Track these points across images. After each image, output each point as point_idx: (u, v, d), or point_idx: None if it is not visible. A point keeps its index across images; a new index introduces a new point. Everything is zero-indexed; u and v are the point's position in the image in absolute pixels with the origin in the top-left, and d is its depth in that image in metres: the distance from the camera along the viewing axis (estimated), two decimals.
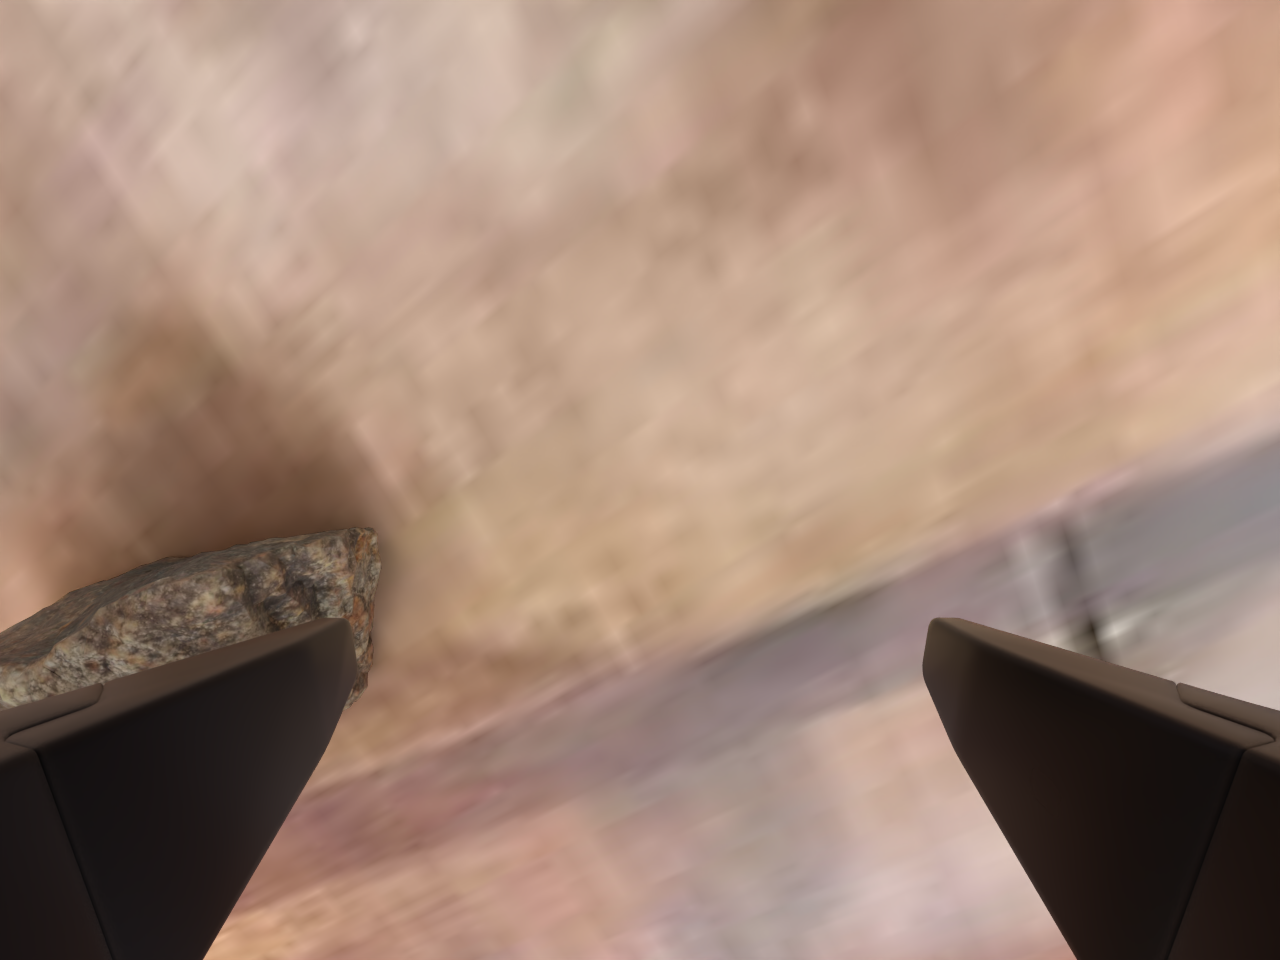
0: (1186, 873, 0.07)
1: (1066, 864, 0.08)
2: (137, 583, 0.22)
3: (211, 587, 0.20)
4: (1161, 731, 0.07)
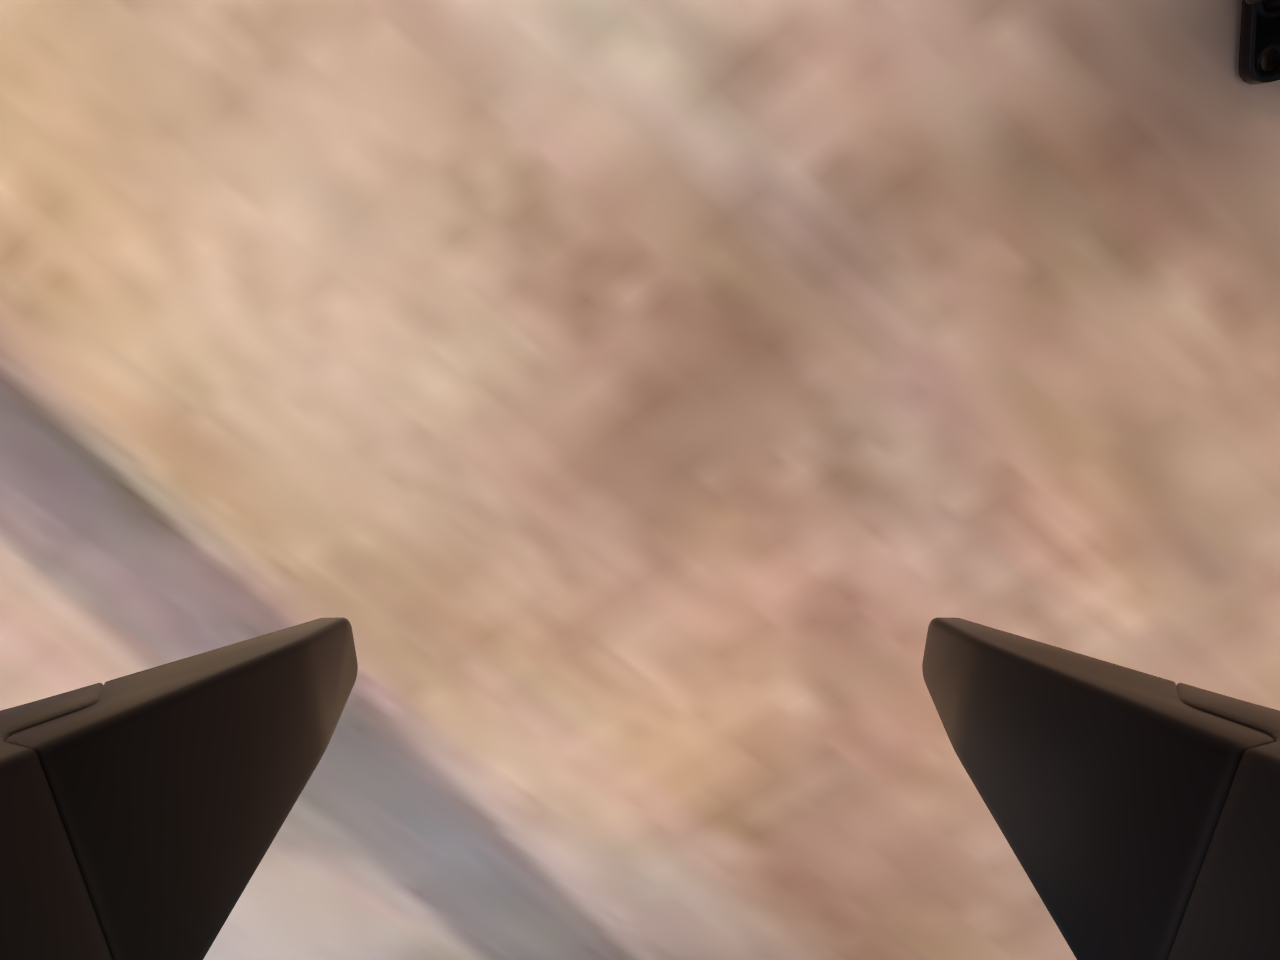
0: (1186, 873, 0.07)
1: (1066, 864, 0.08)
2: None
3: None
4: (1161, 731, 0.07)
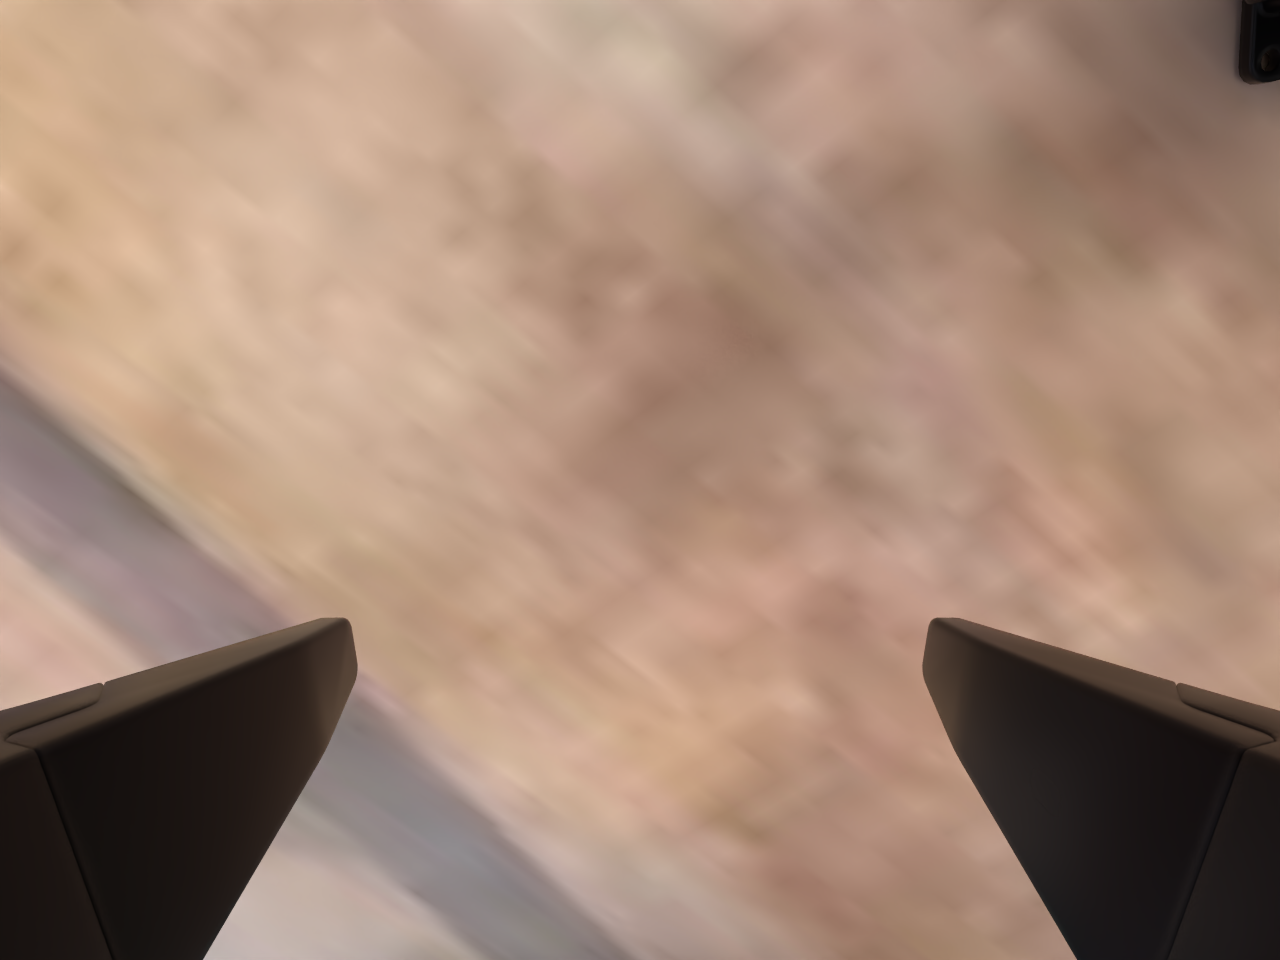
0: (1186, 873, 0.07)
1: (1066, 864, 0.08)
2: None
3: None
4: (1161, 731, 0.07)
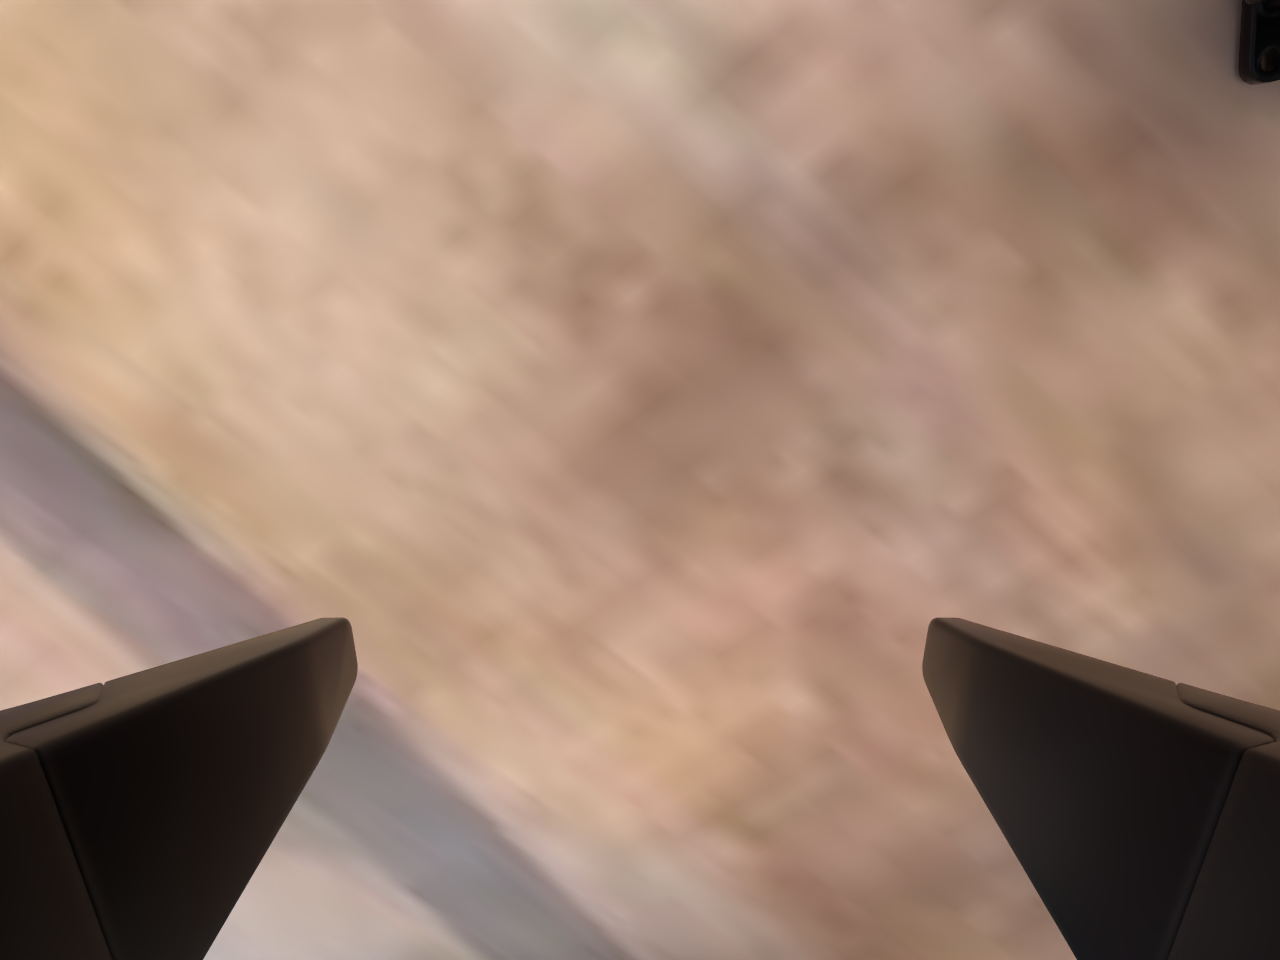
0: (1186, 873, 0.07)
1: (1066, 864, 0.08)
2: None
3: None
4: (1161, 731, 0.07)
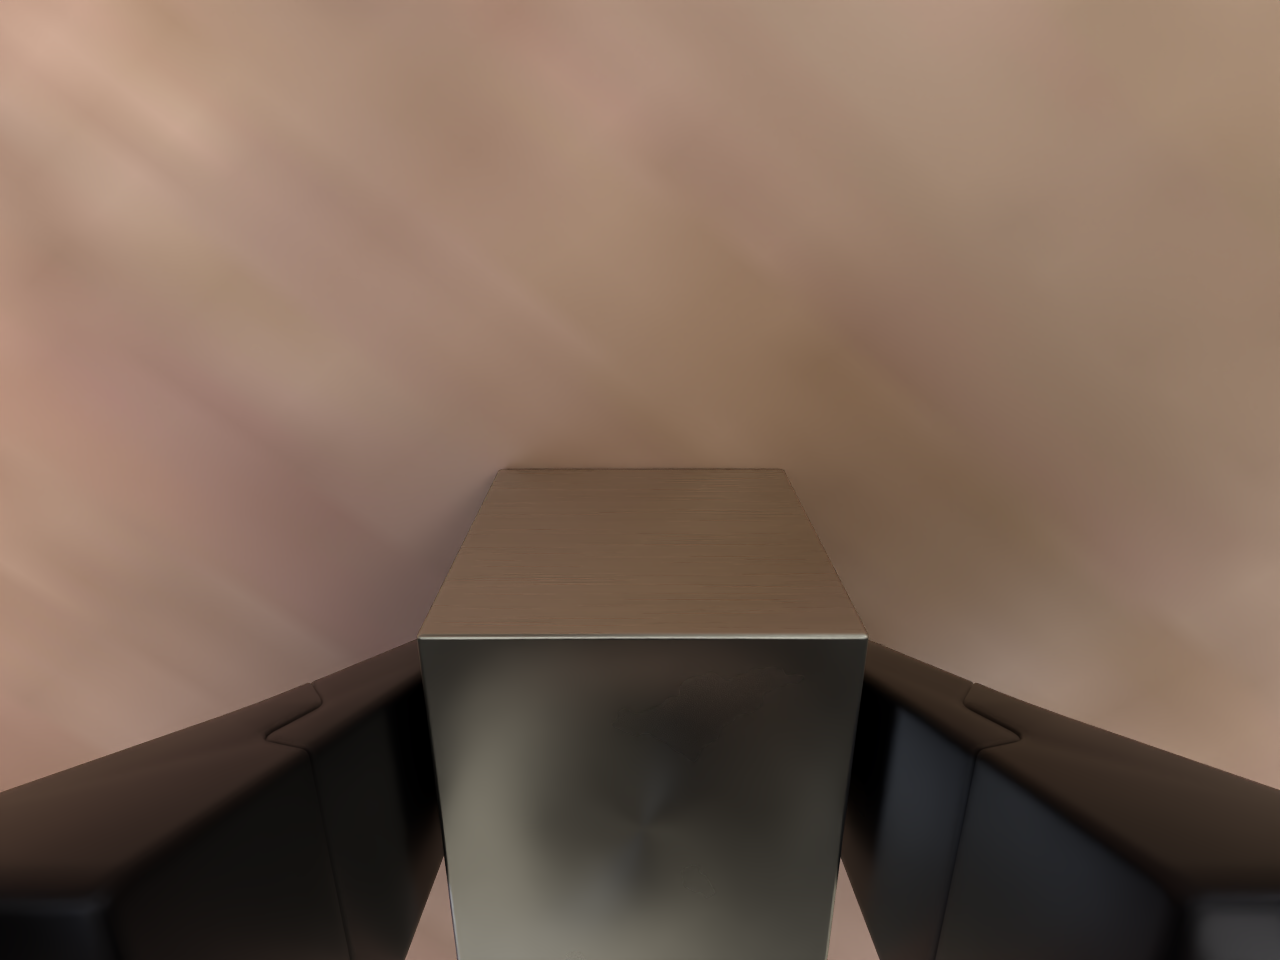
0: (944, 873, 0.07)
1: (871, 864, 0.08)
2: None
3: None
4: (927, 731, 0.07)
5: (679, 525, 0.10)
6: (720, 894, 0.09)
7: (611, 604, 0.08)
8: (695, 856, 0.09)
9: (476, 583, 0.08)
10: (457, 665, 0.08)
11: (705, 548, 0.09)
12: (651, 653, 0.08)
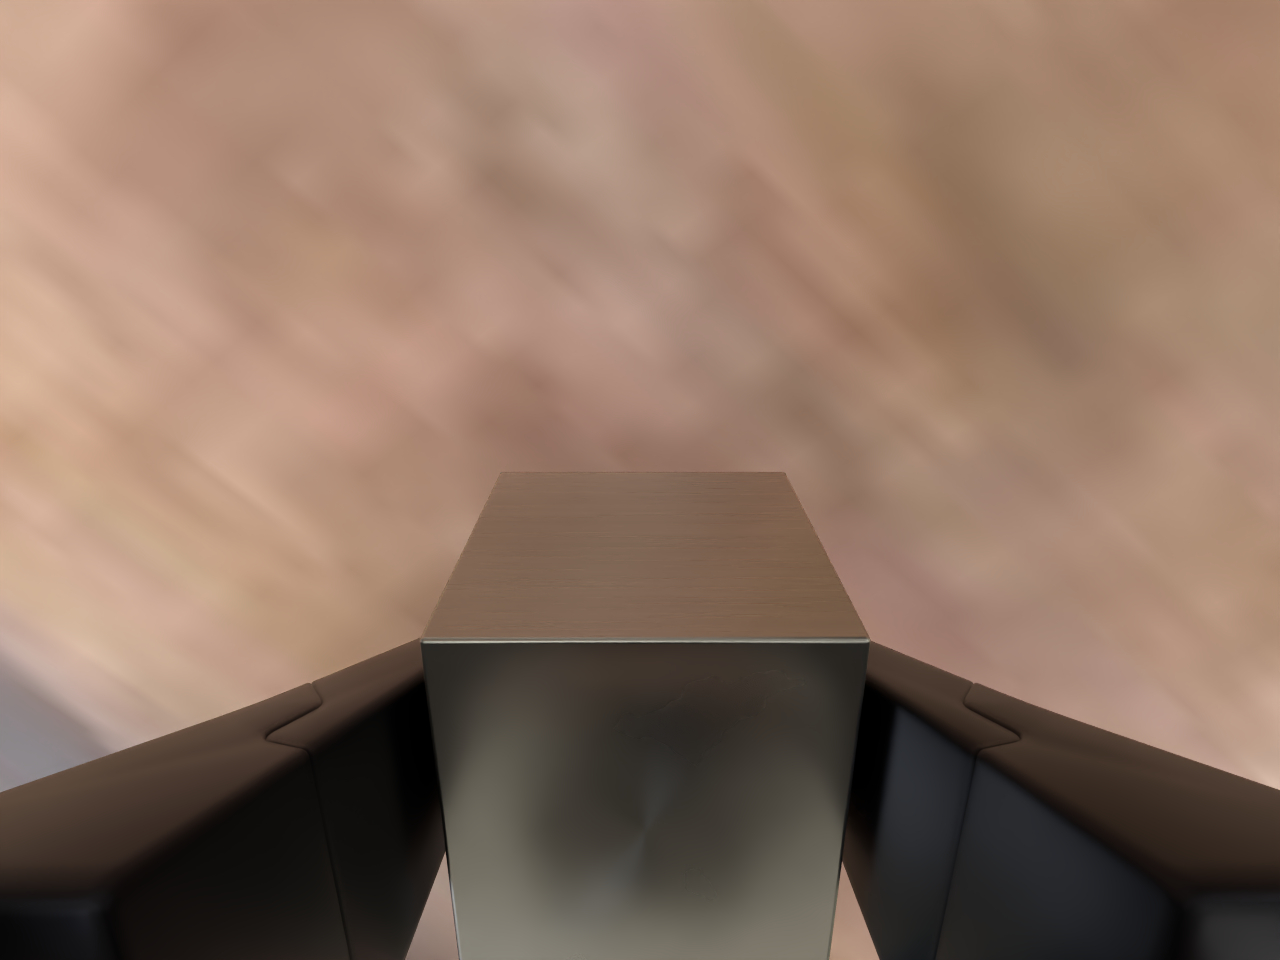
0: (944, 873, 0.07)
1: (871, 864, 0.08)
2: None
3: None
4: (927, 731, 0.07)
5: (681, 527, 0.10)
6: (722, 897, 0.09)
7: (613, 607, 0.08)
8: (698, 859, 0.09)
9: (478, 587, 0.08)
10: (460, 669, 0.08)
11: (707, 551, 0.09)
12: (653, 657, 0.08)
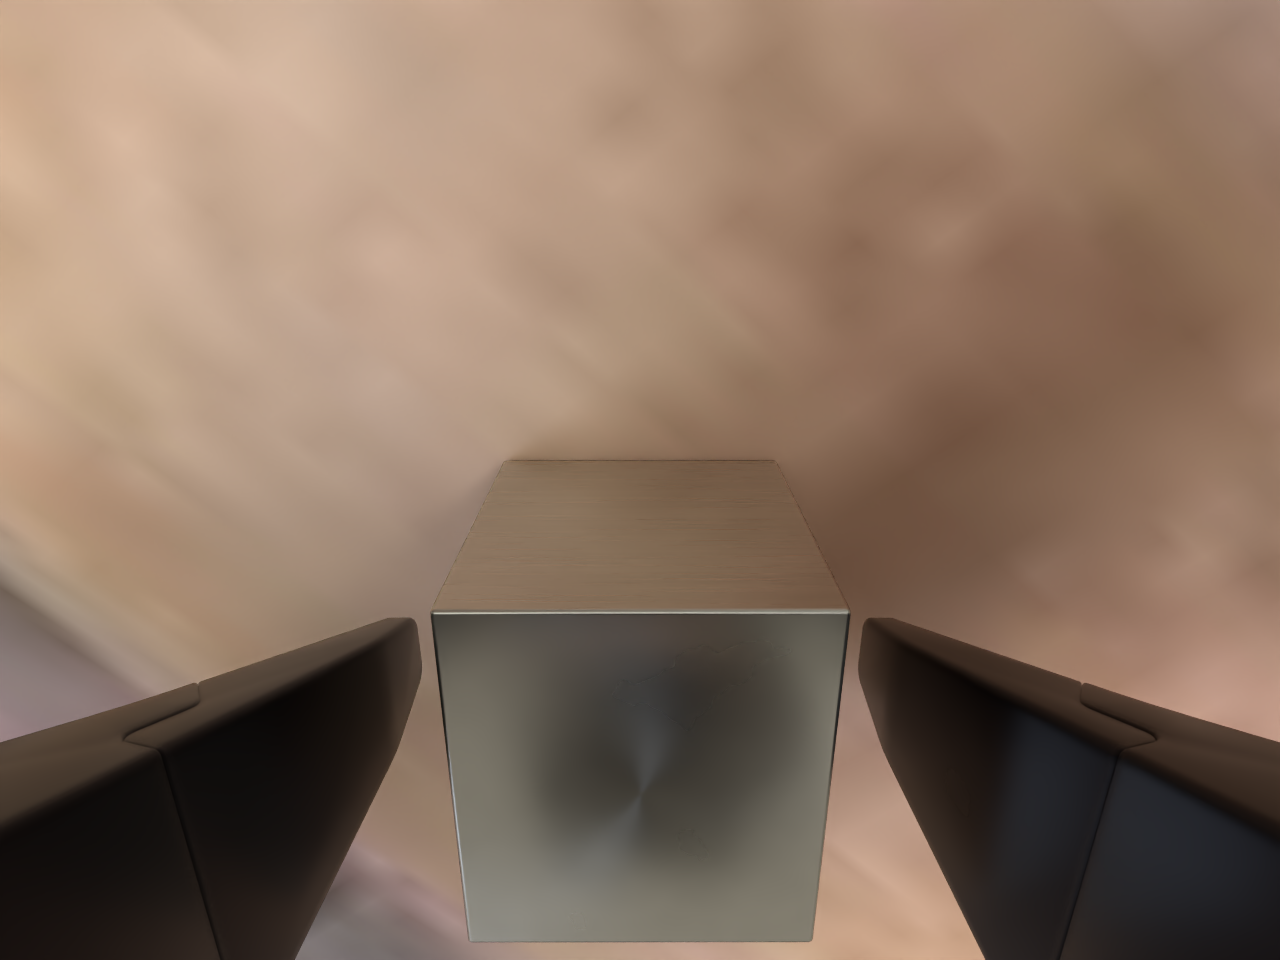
0: (1074, 873, 0.07)
1: (975, 864, 0.08)
2: None
3: None
4: (1052, 731, 0.07)
5: (676, 512, 0.10)
6: (713, 857, 0.09)
7: (611, 582, 0.09)
8: (689, 820, 0.09)
9: (484, 564, 0.09)
10: (467, 638, 0.08)
11: (700, 533, 0.10)
12: (649, 627, 0.08)
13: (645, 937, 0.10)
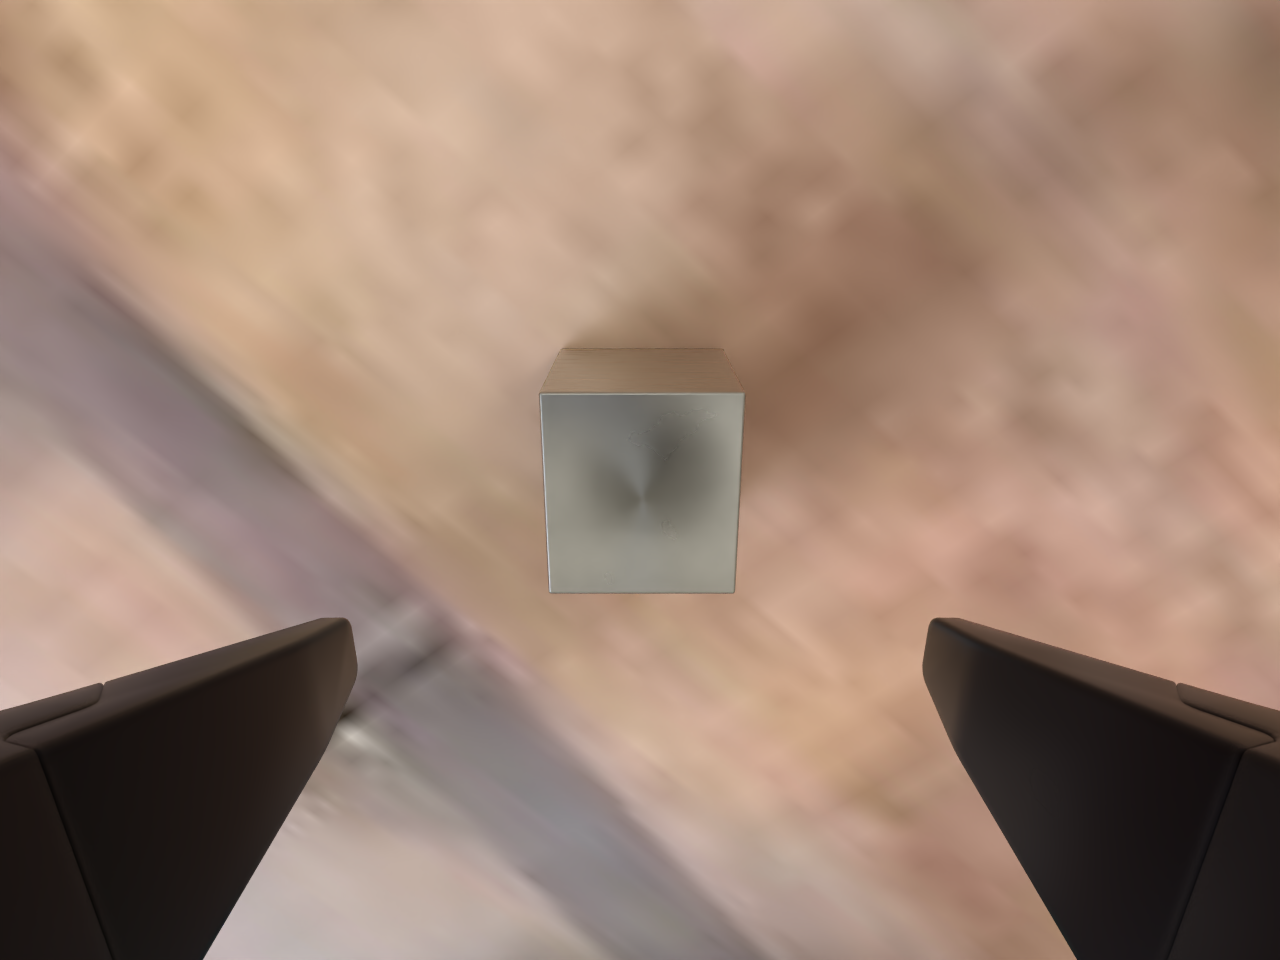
0: (1186, 873, 0.07)
1: (1066, 864, 0.08)
2: None
3: None
4: (1161, 731, 0.07)
5: (661, 365, 0.19)
6: (680, 537, 0.18)
7: (627, 385, 0.17)
8: (667, 514, 0.17)
9: (561, 380, 0.17)
10: (557, 407, 0.17)
11: (674, 372, 0.18)
12: (646, 401, 0.16)
13: (644, 589, 0.18)
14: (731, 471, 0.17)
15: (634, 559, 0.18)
